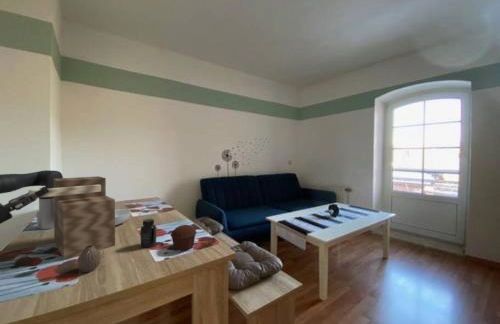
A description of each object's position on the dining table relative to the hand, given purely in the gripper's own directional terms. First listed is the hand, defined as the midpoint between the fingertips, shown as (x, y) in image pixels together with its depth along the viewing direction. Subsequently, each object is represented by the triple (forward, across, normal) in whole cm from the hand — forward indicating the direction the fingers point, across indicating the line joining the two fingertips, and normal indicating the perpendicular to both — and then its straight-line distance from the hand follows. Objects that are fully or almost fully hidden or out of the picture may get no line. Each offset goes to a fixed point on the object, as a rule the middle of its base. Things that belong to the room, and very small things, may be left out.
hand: (46, 189), depth 82 cm
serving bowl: (+12, +29, +40) cm, 51 cm away
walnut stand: (-3, +6, +31) cm, 32 cm away
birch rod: (+4, 0, +6) cm, 7 cm away
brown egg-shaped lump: (-6, -23, +30) cm, 38 cm away
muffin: (+23, -33, +46) cm, 61 cm away
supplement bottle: (+14, -18, +41) cm, 47 cm away
